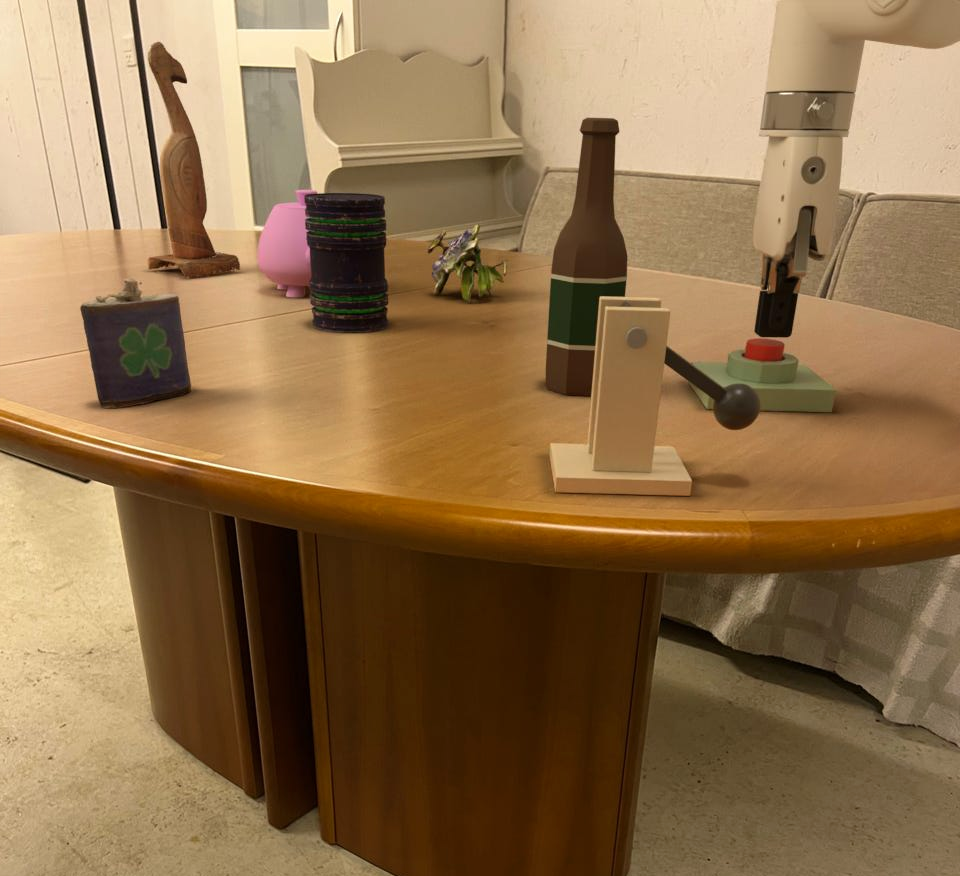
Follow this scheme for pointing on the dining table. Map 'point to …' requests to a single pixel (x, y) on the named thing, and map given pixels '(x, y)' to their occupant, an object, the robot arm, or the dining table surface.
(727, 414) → the lever
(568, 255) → the beer bottle
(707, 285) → the dining table surface
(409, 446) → the dining table surface
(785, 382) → the button box
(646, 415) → the bracket
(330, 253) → the storage jar
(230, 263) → the bird sculpture
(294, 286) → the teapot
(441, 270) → the passion flower
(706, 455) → the dining table surface
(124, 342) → the flask
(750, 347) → the button
